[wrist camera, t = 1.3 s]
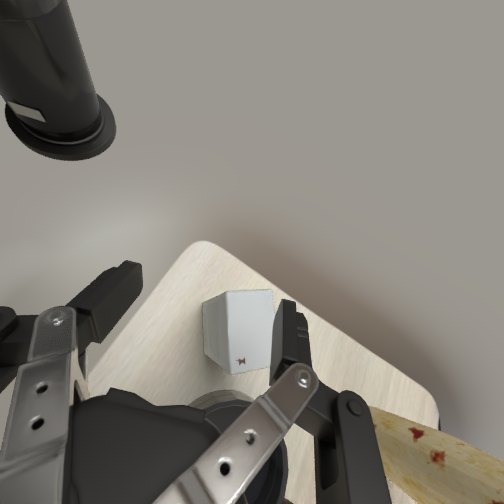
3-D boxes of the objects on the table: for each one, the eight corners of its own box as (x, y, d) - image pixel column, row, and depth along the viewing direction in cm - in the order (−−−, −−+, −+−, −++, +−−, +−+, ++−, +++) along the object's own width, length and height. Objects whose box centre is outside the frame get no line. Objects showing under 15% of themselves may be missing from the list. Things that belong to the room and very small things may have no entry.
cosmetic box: (238, 348, 28) (283, 367, 18) (203, 353, 27) (228, 378, 16) (234, 298, 30) (274, 287, 19) (201, 301, 28) (223, 290, 18)
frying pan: (124, 497, 21) (117, 529, 18) (207, 367, 27) (213, 374, 23) (232, 560, 23) (243, 600, 20) (291, 425, 28) (307, 439, 25)
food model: (329, 426, 30) (583, 593, 12) (355, 383, 33) (591, 465, 15) (377, 482, 30) (699, 733, 12) (398, 435, 33) (684, 579, 15)
